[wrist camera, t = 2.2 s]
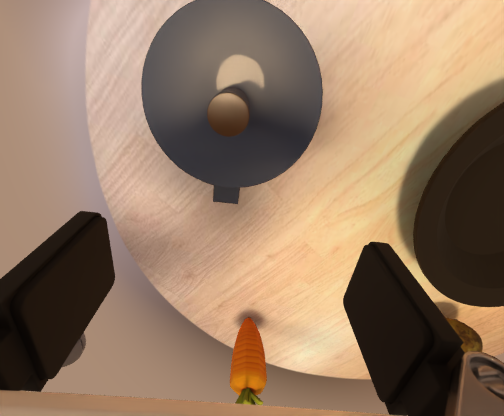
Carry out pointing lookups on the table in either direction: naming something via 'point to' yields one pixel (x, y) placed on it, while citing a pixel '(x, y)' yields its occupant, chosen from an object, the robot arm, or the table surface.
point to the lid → (232, 91)
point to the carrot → (248, 365)
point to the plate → (466, 217)
